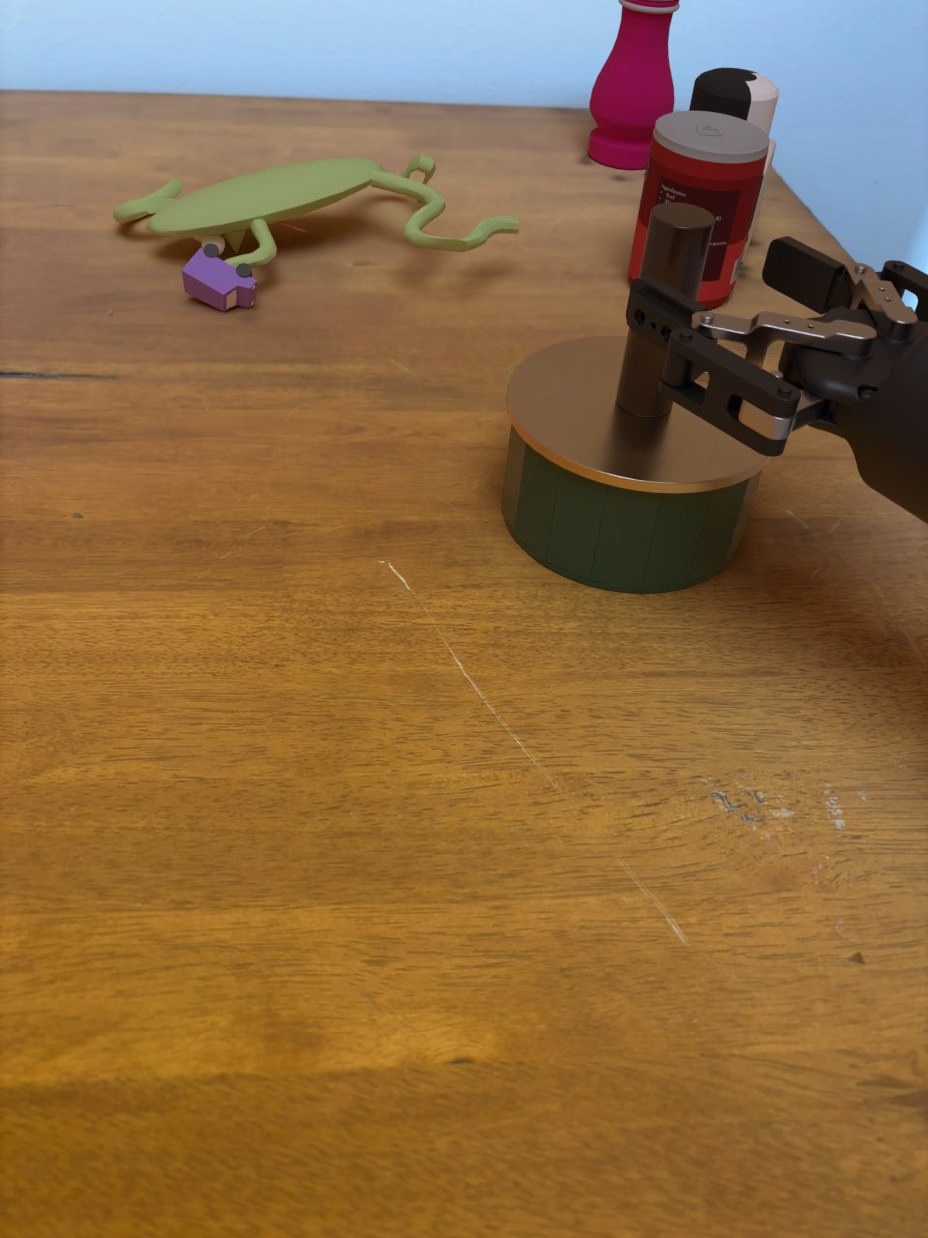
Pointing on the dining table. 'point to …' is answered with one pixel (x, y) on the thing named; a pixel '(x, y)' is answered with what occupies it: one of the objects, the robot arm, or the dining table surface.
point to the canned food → (705, 187)
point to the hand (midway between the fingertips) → (704, 276)
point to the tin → (620, 526)
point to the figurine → (283, 217)
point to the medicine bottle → (740, 110)
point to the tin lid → (630, 390)
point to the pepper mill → (633, 85)
